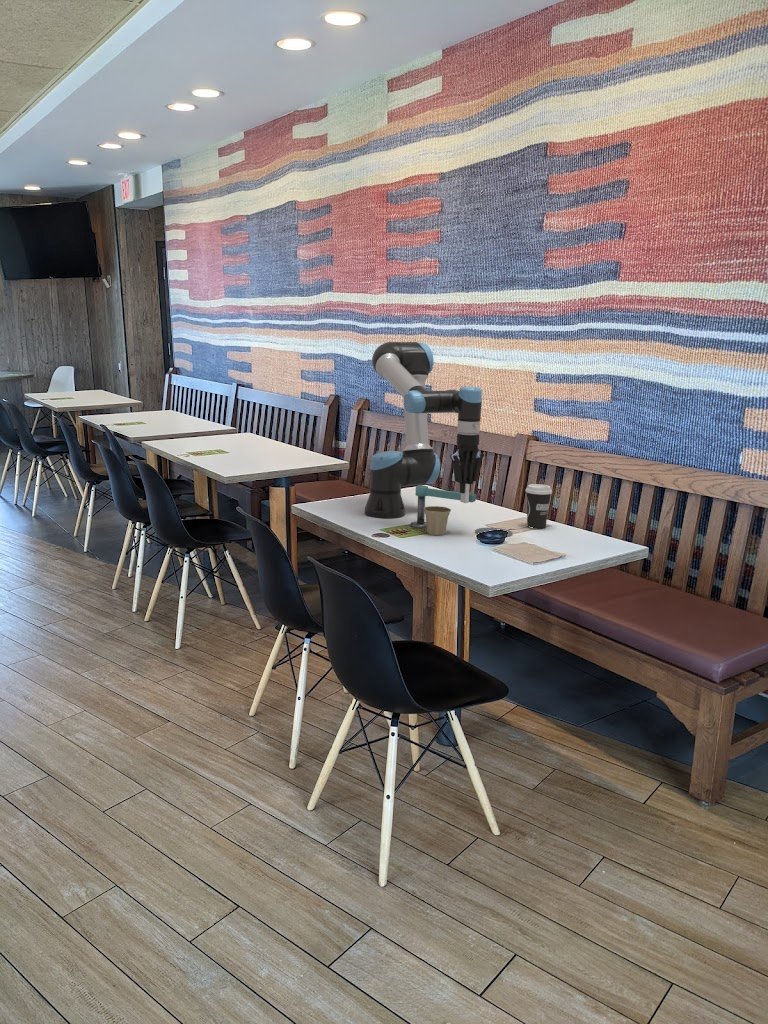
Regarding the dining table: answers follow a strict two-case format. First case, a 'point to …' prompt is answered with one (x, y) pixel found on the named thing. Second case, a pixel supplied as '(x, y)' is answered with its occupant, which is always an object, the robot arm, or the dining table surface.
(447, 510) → the flower pot
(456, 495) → the teal paddle stick
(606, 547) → the dining table surface
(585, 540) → the dining table surface
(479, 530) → the pad
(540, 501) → the coffee cup
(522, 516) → the dining table surface
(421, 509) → the grey pedestal stand
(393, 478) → the robot arm
